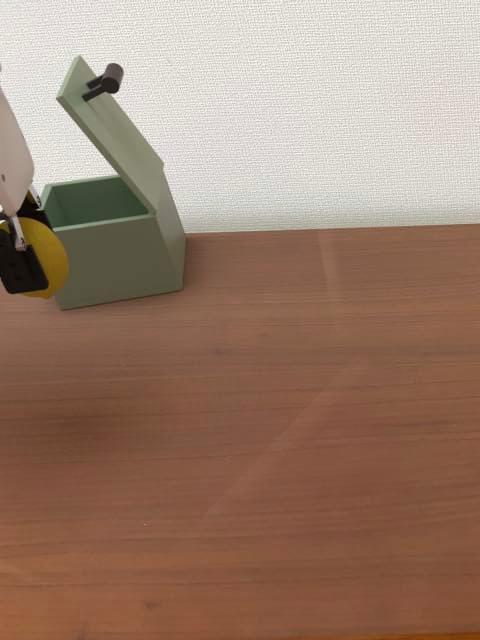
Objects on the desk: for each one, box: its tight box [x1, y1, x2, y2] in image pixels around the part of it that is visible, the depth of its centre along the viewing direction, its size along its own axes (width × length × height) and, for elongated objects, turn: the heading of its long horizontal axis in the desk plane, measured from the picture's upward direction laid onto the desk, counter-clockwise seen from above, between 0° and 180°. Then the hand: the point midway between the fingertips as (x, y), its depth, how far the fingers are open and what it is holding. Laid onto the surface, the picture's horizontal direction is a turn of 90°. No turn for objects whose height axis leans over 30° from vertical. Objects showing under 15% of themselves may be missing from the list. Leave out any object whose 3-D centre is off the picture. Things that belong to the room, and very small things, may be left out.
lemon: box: [0, 217, 69, 300], centre depth 71 cm, size 6×6×8 cm
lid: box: [55, 54, 165, 214], centre depth 93 cm, size 15×14×5 cm
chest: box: [37, 169, 187, 311], centre depth 100 cm, size 14×14×10 cm
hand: (35, 269), depth 71 cm, fingers closed on lemon, 5 cm apart
